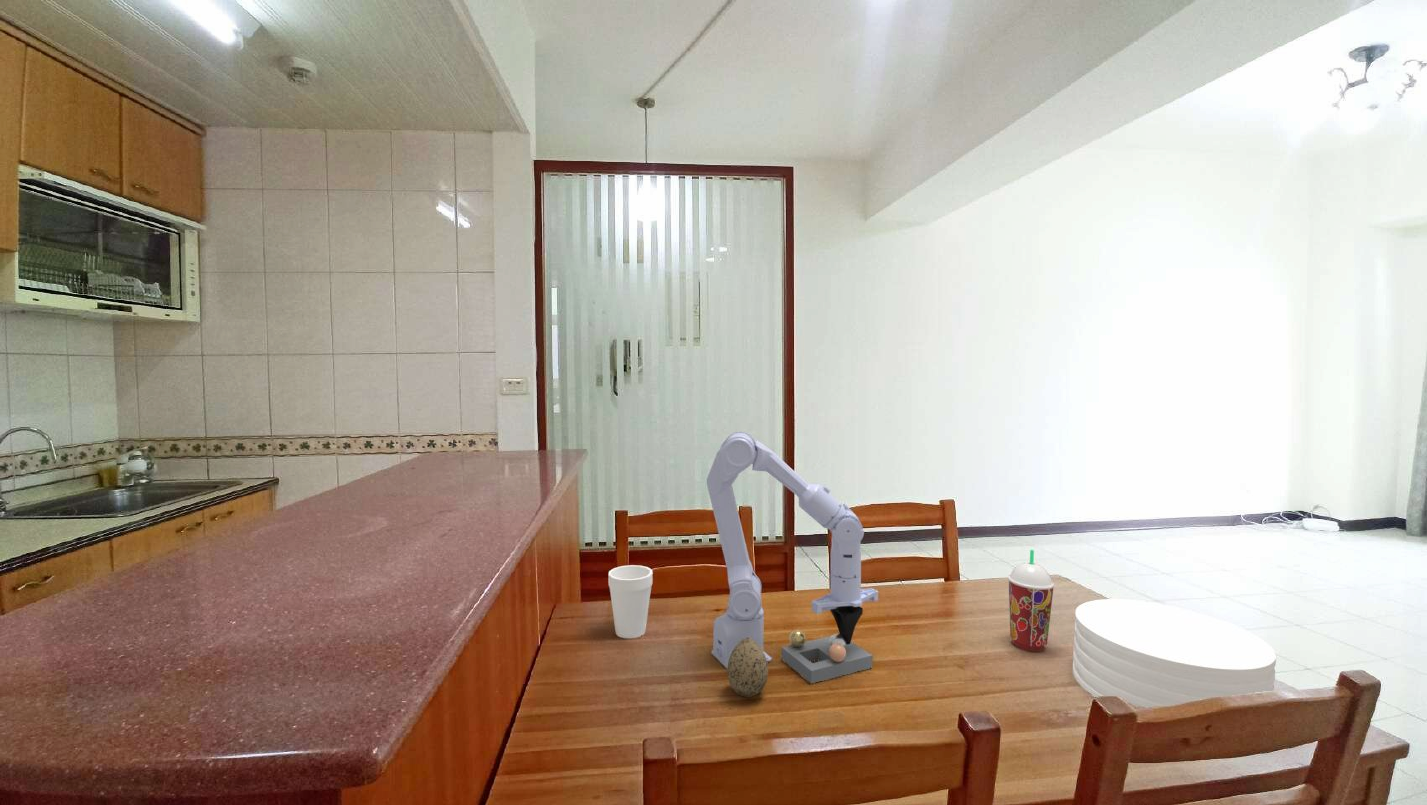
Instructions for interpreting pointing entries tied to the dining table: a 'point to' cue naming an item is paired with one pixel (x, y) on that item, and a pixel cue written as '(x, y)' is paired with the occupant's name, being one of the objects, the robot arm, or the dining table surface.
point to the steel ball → (837, 640)
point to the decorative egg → (747, 668)
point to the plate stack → (1165, 654)
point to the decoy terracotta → (837, 652)
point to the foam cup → (630, 599)
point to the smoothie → (1030, 605)
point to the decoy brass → (797, 638)
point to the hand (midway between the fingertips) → (845, 642)
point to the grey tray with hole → (825, 660)
